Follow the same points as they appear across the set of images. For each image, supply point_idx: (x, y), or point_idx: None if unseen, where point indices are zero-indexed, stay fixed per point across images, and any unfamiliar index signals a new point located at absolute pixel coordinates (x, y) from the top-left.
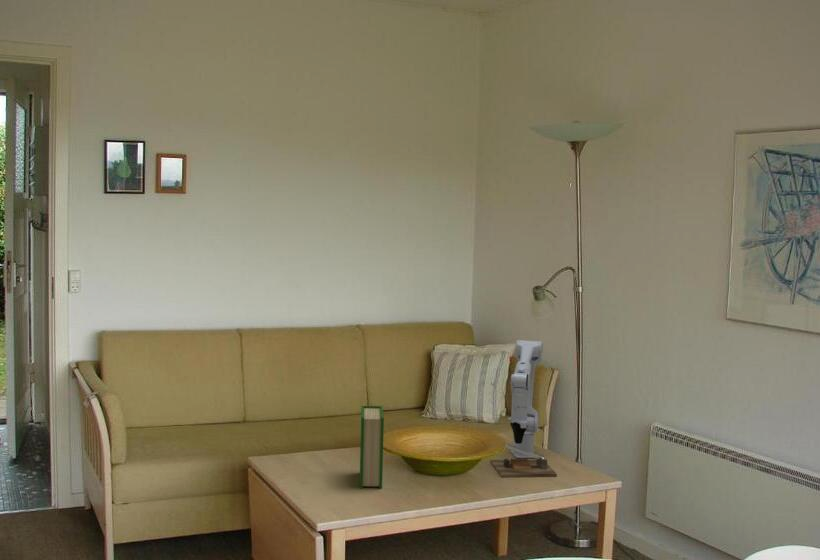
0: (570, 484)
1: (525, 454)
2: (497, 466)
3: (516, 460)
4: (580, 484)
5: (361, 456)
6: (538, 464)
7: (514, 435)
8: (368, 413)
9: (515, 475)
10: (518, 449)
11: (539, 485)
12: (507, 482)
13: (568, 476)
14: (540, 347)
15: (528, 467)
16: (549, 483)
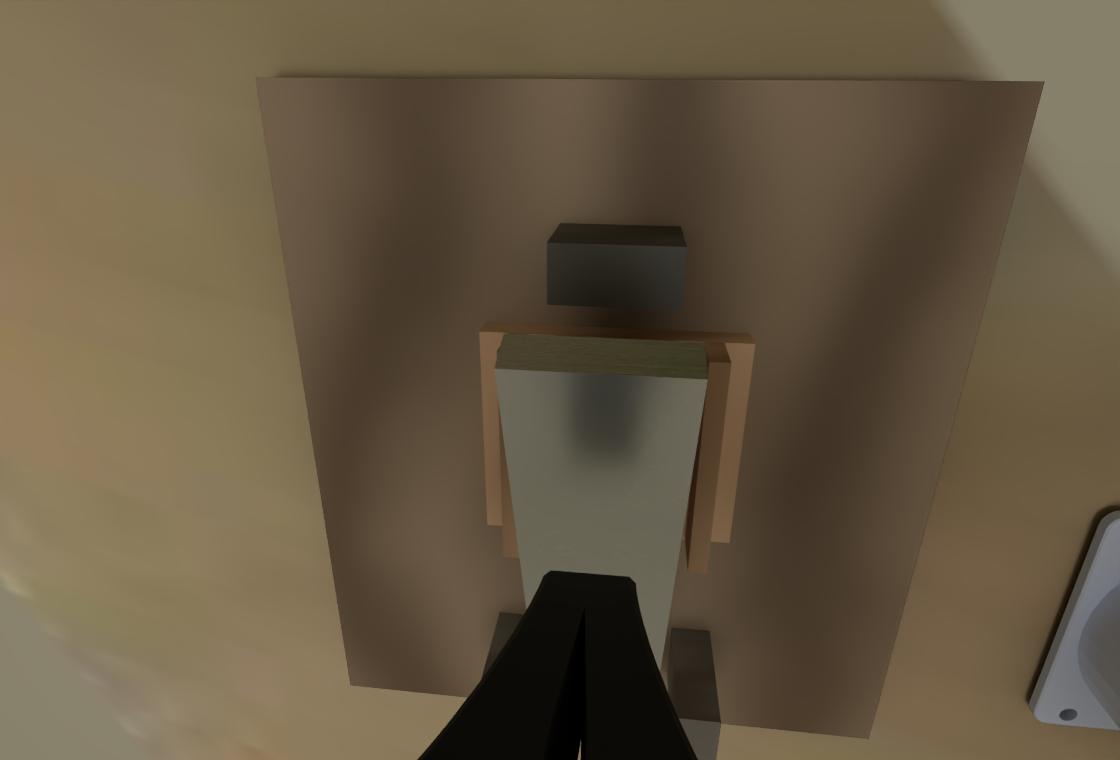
0: (154, 684)
1: (1103, 640)
2: (650, 117)
3: None
4: (170, 745)
5: None
6: (671, 640)
7: (539, 704)
8: None
9: (296, 279)
10: (519, 533)
11: (60, 439)
12: (77, 114)
13: (376, 745)
14: None
15: (488, 500)
16: (145, 543)
